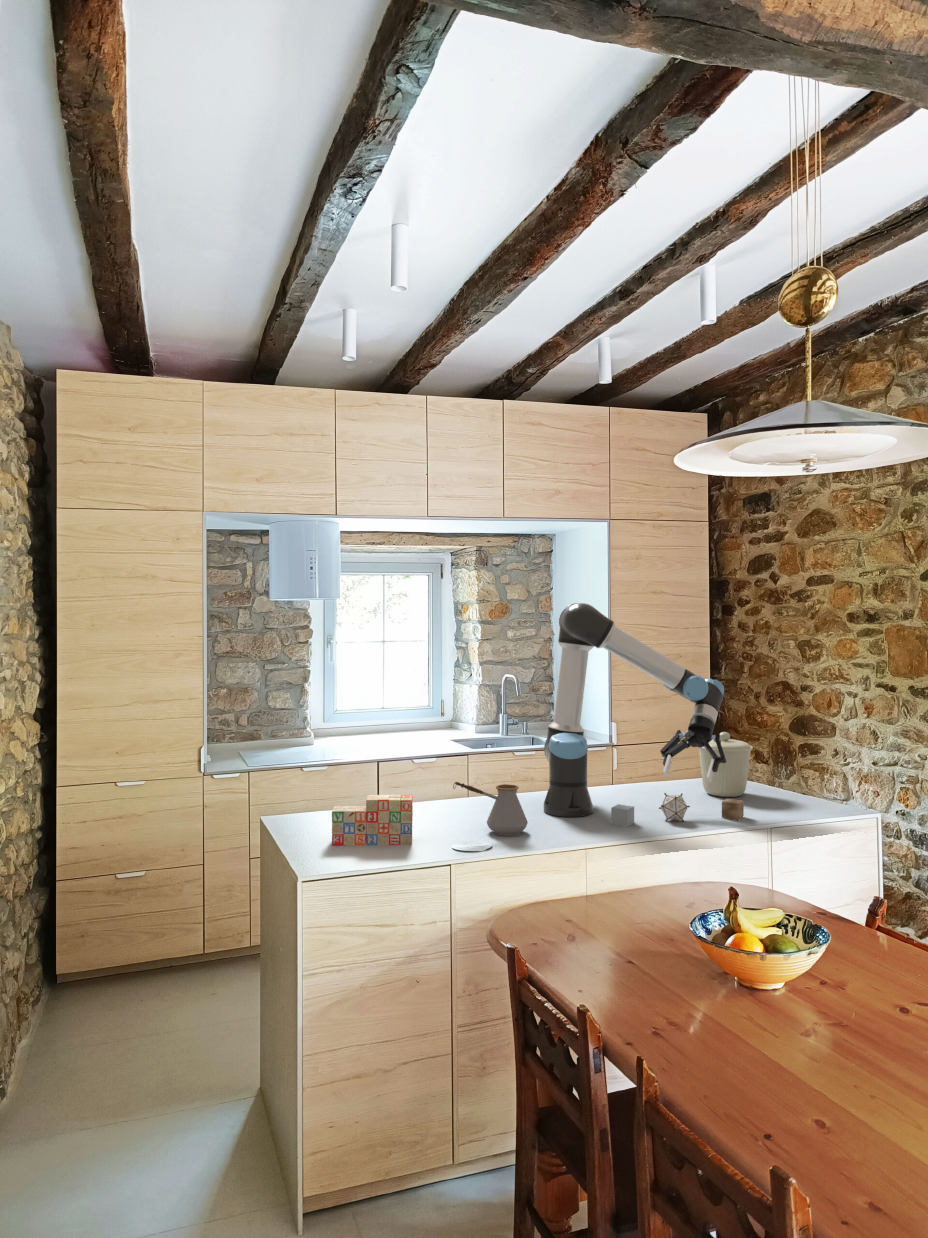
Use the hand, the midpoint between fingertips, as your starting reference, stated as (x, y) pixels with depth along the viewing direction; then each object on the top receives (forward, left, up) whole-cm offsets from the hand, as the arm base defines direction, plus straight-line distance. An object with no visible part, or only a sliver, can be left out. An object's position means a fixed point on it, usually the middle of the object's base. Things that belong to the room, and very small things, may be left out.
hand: (686, 777), depth 255 cm
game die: (-1, -8, -12) cm, 14 cm away
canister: (0, +36, -12) cm, 38 cm away
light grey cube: (-12, -20, -12) cm, 26 cm away
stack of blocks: (-59, -76, -12) cm, 97 cm away
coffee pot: (-38, -51, -12) cm, 65 cm away
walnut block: (+12, +6, -12) cm, 18 cm away
